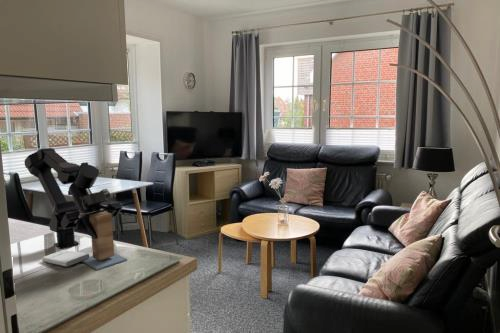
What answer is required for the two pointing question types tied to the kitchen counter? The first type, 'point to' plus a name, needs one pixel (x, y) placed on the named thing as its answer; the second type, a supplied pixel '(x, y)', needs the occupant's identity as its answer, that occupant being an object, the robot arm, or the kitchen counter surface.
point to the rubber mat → (104, 261)
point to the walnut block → (102, 235)
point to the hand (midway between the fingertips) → (104, 236)
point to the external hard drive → (65, 257)
